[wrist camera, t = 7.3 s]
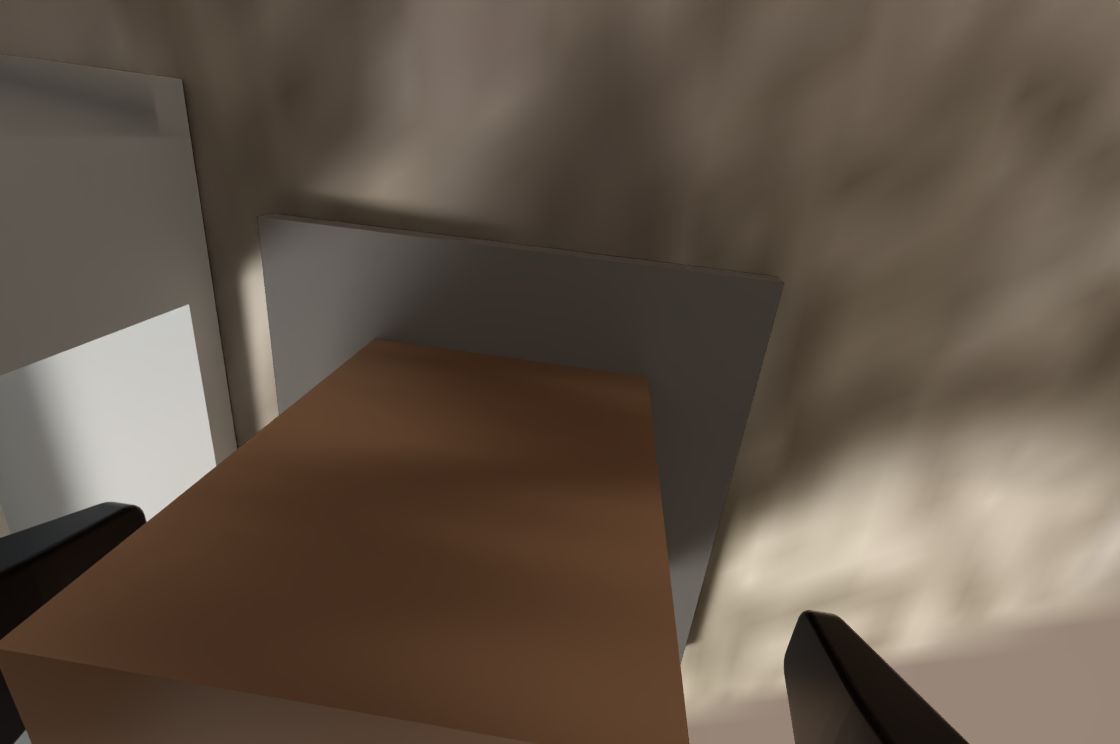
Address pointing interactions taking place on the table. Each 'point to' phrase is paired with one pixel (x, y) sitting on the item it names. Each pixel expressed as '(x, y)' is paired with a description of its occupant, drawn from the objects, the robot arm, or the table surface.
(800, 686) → the robot arm
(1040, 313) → the table surface
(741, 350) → the rubber mat
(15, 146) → the access box
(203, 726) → the walnut block
